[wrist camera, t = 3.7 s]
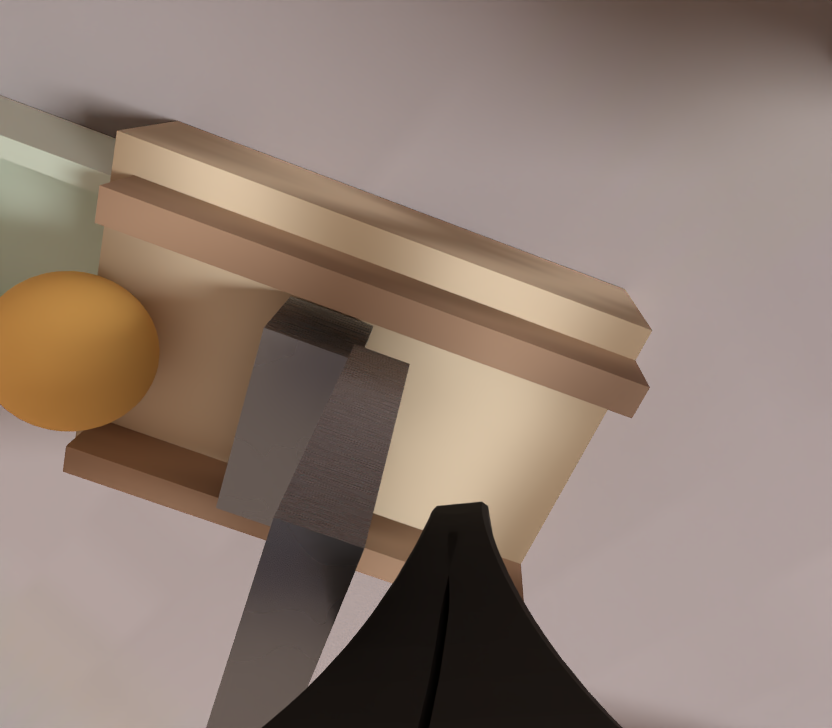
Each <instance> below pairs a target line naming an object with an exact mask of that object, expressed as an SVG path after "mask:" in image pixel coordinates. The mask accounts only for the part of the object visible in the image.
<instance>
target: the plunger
mask: <svg viewBox="0 0 832 728" xmlns="http://www.w3.org/2000/svg"><path fill="white" fill-rule="evenodd" d="M372 329H373V325H370V324H367V323H364V322H362V321H359V320H356V319H353V318H351V317H348V316H345V315H342V314H340V313H337V312H334V311H331V310H329V309H326V308H323V307H320V306H318V305H315V304H312V303H309V302H307V301H304V300H301V299H298V298H296V297H293V296H290V297H289V299H288V300H287V301H286V302H285V303H284V305H283V306H282V307H281V308H280V309H279V310H278V312H277V313H276V314H275V315H274V316H273V317H272V319H271V320H270V321H269V322H268V323H267V324H266V326H265V327H264V329H263V333H262V336H261V340H260V344H259V348H258V351H257V355H256V359H255V363H254V366H253V370H252V374H251V378H250V381H249V385H248V389H247V393H246V396H245V400H244V404H243V408H242V411H241V415H240V419H239V423H238V426H237V430H236V434H235V438H234V441H233V445H232V449H231V453H230V456H229V460H228V464H227V468H226V472H225V475H224V479H223V483H222V487H221V490H220V494H219V498H218V502H217V505H216V508H218V509H221V510H223V511H226V512H229V513H232V514H235V515H238V516H241V517H244V518H247V519H250V520H253V521H256V522H259V523H262V524H265V525H268V526H270V530H269V533H268V536H267V539H266V543H265V546H264V549H263V552H262V555H261V558H260V561H259V565H258V568H257V571H256V574H255V577H254V580H253V583H252V586H251V590H250V593H249V596H248V599H247V602H246V605H245V608H244V611H243V615H242V618H241V621H240V624H239V627H238V630H237V633H236V636H235V640H234V643H233V646H232V649H231V652H230V655H229V658H228V661H227V665H226V668H225V671H224V674H223V677H222V680H221V683H220V686H219V690H218V693H217V696H216V699H215V702H214V705H213V708H212V711H211V715H210V718H209V721H208V724H207V727H206V728H261V727H263V726H264V725H265V724H266V723H268V722H269V721H270V720H271V719H273V718H274V717H275V716H276V715H277V714H278V713H279V712H281V711H282V710H283V709H284V708H285V707H286V706H288V705H289V704H290V703H291V702H292V701H293V700H294V699H295V698H296V697H298V696H299V695H300V694H301V693H302V692H303V691H304V690H305V689H306V688H307V687H308V684H309V682H310V680H311V677H312V675H313V672H314V670H315V667H316V665H317V663H318V660H319V658H320V655H321V653H322V650H323V648H324V646H325V643H326V641H327V638H328V636H329V633H330V631H331V629H332V626H333V624H334V621H335V619H336V616H337V614H338V612H339V609H340V607H341V604H342V602H343V599H344V597H345V595H346V592H347V590H348V587H349V585H350V582H351V580H352V578H353V575H354V573H355V570H356V568H357V565H358V563H359V561H360V558H361V556H362V553H363V551H364V548H365V544H366V540H367V536H368V532H369V528H370V524H371V520H372V516H373V512H374V508H375V504H376V500H377V496H378V491H379V487H380V483H381V479H382V475H383V471H384V467H385V463H386V459H387V455H388V451H389V447H390V443H391V439H392V435H393V430H394V426H395V422H396V418H397V414H398V410H399V406H400V402H401V398H402V394H403V390H404V386H405V382H406V378H407V374H408V369H409V365H410V364H409V363H406V362H403V361H400V360H398V359H395V358H392V357H389V356H387V355H384V354H381V353H378V352H375V351H373V350H370V349H367V348H366V346H367V344H368V341H369V338H370V335H371V332H372Z"/></svg>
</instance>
